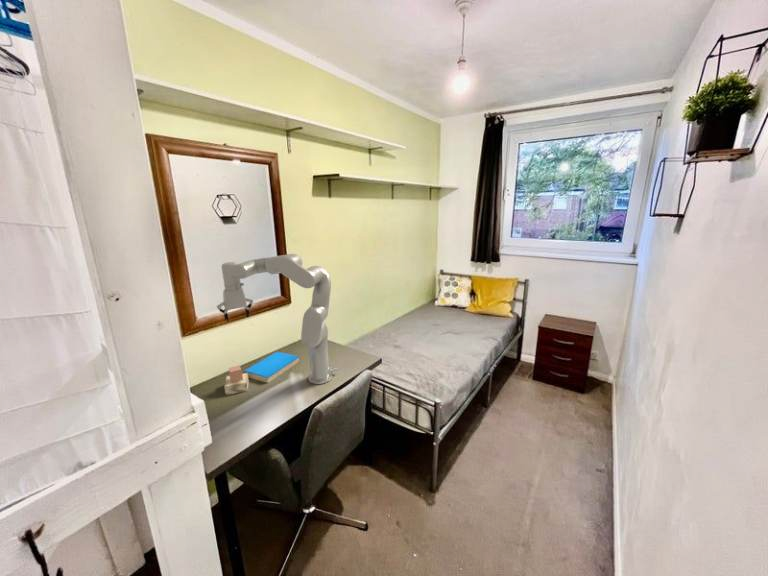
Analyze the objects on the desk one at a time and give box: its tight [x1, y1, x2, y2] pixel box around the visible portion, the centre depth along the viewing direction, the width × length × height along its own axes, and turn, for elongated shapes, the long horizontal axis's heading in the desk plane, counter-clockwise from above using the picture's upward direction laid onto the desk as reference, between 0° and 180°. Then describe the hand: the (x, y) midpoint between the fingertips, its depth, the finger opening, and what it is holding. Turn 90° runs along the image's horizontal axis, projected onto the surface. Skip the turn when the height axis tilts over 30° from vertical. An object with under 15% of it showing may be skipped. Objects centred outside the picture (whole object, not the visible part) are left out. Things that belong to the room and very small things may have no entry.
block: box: [228, 364, 243, 383], centre depth 161 cm, size 5×5×6 cm
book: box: [243, 351, 300, 384], centre depth 181 cm, size 17×4×25 cm
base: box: [223, 372, 250, 396], centre depth 162 cm, size 10×10×5 cm
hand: (237, 318), depth 167 cm, fingers open, 9 cm apart
